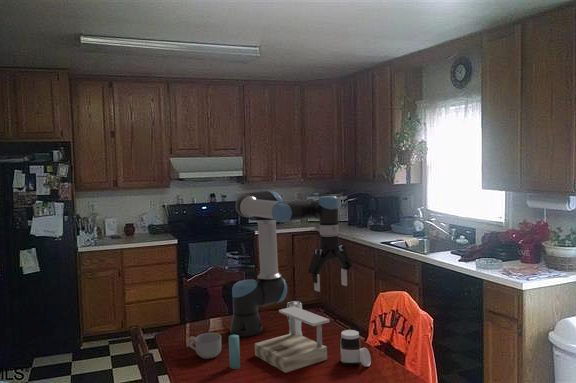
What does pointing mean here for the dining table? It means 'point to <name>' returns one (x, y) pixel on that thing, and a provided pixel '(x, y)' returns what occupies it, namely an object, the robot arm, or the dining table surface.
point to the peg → (234, 351)
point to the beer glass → (297, 322)
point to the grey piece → (305, 320)
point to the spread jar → (353, 349)
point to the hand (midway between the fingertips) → (331, 288)
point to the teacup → (206, 345)
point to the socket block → (290, 352)
